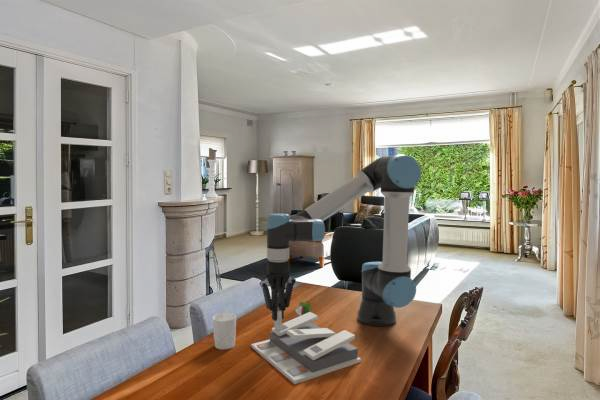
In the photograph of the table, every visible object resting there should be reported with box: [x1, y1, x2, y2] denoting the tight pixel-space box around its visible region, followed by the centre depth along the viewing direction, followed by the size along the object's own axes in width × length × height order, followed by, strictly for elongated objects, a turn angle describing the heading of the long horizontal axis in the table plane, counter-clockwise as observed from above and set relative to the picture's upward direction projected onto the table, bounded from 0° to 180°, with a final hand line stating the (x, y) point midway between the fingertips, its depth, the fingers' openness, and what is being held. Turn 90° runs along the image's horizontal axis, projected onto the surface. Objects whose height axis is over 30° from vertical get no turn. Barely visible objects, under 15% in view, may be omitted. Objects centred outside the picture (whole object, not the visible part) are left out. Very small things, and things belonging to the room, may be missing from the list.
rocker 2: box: [286, 327, 337, 339], centre depth 127 cm, size 16×5×1 cm, turn 123°
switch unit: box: [250, 322, 362, 385], centre depth 126 cm, size 24×28×4 cm
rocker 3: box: [303, 329, 356, 360], centre depth 119 cm, size 16×5×1 cm, turn 122°
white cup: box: [212, 312, 237, 351], centre depth 133 cm, size 8×8×10 cm
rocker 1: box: [271, 311, 319, 337], centre depth 136 cm, size 16×5×1 cm, turn 122°
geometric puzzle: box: [294, 301, 315, 317], centre depth 157 cm, size 7×7×8 cm
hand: (277, 328), depth 132 cm, fingers closed
